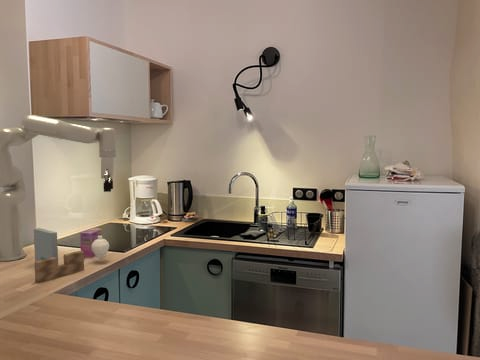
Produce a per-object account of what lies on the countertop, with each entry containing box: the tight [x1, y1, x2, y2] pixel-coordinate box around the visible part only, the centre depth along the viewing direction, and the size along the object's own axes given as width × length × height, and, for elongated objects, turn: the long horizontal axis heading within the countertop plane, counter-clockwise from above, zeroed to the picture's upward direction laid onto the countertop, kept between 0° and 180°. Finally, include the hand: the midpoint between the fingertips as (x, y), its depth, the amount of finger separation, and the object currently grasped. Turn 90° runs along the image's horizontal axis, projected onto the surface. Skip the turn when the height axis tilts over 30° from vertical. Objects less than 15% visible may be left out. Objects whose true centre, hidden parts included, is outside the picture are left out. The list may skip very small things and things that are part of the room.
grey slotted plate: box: [33, 227, 59, 266], centre depth 182 cm, size 14×2×16 cm, turn 54°
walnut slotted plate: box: [34, 250, 85, 284], centre depth 171 cm, size 20×2×8 cm, turn 144°
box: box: [79, 227, 103, 259], centre depth 202 cm, size 10×6×12 cm, turn 168°
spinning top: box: [91, 235, 110, 263], centre depth 190 cm, size 8×8×12 cm
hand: (108, 190), depth 200 cm, fingers open, 9 cm apart
